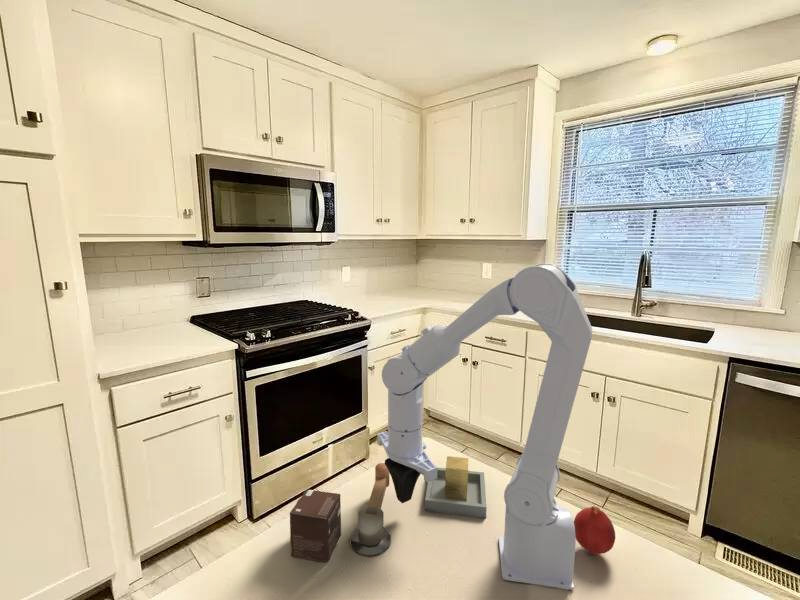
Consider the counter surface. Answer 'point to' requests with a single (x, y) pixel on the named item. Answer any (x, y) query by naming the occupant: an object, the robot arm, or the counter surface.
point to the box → (315, 525)
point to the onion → (594, 530)
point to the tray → (461, 507)
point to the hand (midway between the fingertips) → (404, 499)
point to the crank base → (370, 550)
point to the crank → (374, 510)
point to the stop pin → (456, 478)
